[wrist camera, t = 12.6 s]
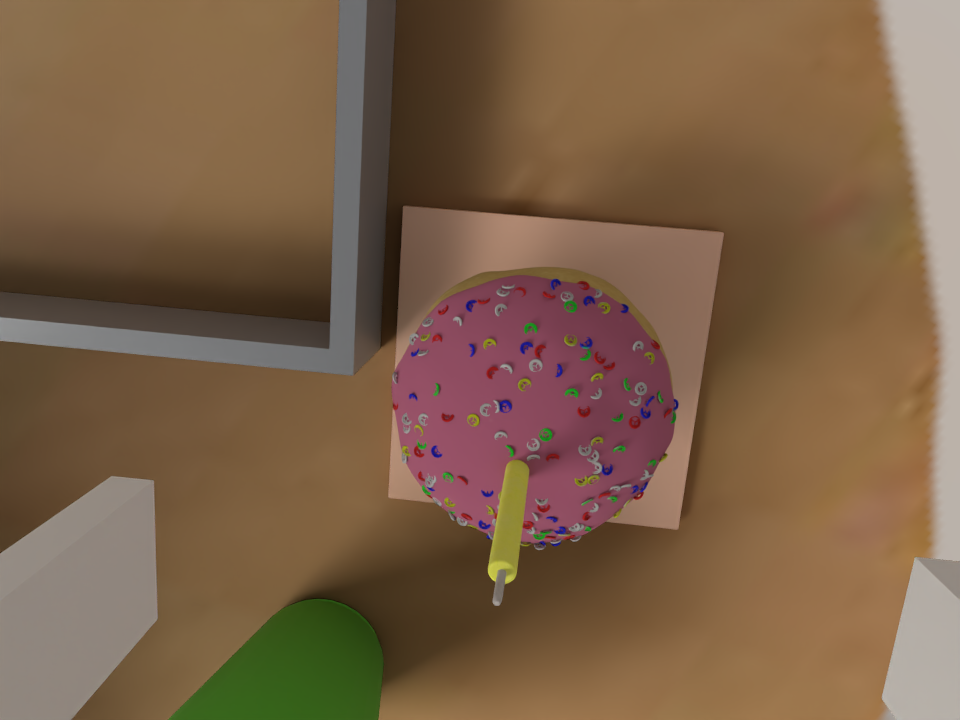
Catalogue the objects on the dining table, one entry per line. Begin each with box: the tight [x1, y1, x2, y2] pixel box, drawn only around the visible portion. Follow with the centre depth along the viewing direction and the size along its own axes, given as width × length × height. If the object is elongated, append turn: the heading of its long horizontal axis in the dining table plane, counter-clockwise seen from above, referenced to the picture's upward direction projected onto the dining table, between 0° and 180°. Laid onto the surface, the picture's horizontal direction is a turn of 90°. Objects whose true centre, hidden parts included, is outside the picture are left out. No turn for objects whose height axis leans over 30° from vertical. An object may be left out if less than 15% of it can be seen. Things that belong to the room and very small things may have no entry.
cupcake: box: [392, 267, 679, 606], centre depth 21 cm, size 9×8×12 cm
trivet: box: [388, 206, 724, 530], centre depth 27 cm, size 11×11×1 cm
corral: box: [0, 0, 396, 376], centre depth 24 cm, size 22×22×4 cm
